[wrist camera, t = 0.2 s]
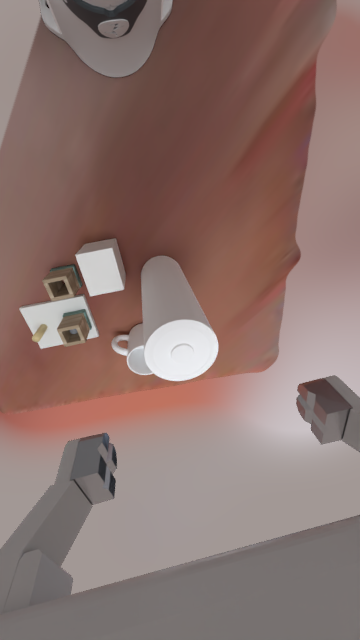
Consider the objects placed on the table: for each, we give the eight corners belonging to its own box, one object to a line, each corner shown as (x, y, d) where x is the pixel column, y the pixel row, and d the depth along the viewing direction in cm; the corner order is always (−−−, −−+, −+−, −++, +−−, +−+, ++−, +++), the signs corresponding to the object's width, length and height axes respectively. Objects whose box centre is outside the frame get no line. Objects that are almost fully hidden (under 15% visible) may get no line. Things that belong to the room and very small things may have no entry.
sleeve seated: (64, 313, 56) (55, 328, 50) (85, 308, 56) (78, 323, 50) (71, 330, 58) (64, 347, 52) (92, 326, 58) (86, 342, 52)
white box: (82, 244, 51) (73, 255, 43) (115, 238, 51) (112, 247, 43) (95, 280, 55) (88, 296, 47) (126, 274, 55) (124, 289, 47)
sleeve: (51, 268, 52) (40, 279, 46) (74, 264, 52) (66, 274, 46) (60, 289, 54) (51, 302, 48) (82, 284, 55) (75, 297, 49)
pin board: (21, 306, 55) (8, 319, 49) (84, 293, 56) (78, 305, 50) (42, 345, 60) (33, 361, 55) (99, 333, 61) (95, 348, 56)
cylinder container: (151, 301, 59) (163, 393, 33) (133, 266, 54) (130, 341, 28) (187, 285, 58) (228, 366, 33) (172, 248, 54) (205, 309, 28)
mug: (110, 343, 63) (106, 370, 54) (116, 316, 60) (113, 339, 51) (156, 351, 66) (159, 377, 57) (164, 325, 63) (168, 348, 54)
